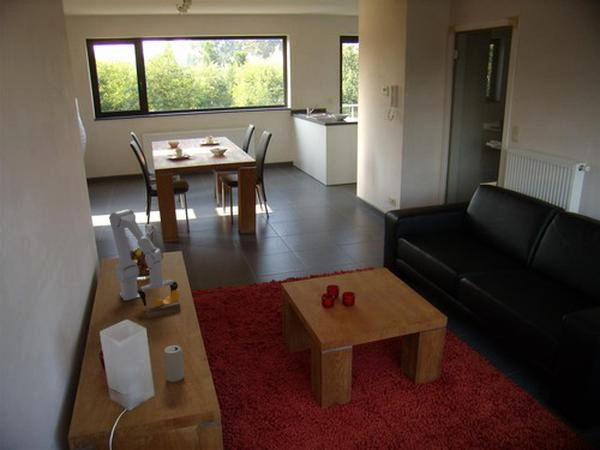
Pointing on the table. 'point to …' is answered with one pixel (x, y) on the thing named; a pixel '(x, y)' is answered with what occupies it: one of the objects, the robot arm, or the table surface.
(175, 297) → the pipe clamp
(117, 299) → the table surface
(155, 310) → the bar
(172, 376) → the beverage can
